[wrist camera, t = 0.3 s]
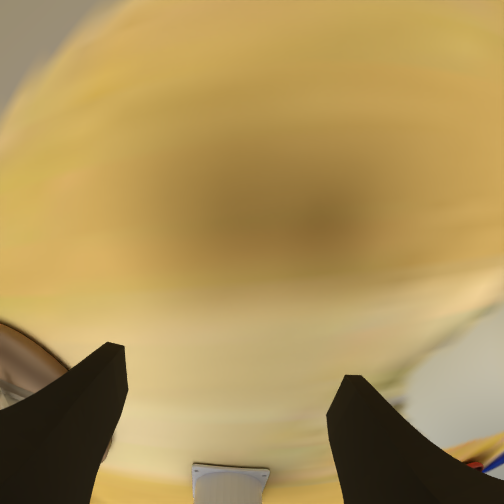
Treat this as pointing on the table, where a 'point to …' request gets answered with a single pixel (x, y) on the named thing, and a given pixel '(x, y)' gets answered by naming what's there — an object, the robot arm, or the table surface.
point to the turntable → (26, 367)
